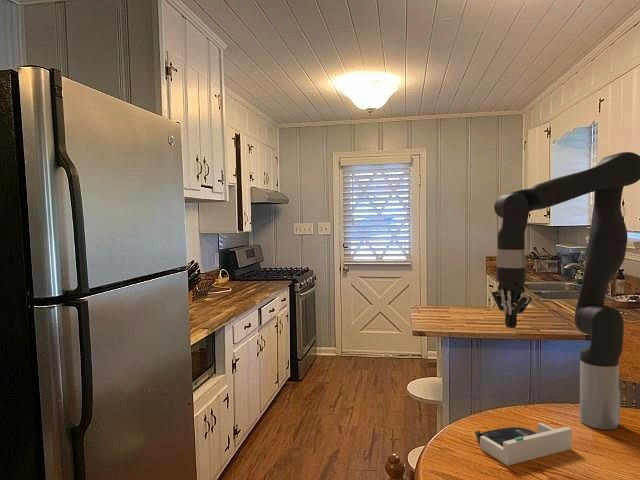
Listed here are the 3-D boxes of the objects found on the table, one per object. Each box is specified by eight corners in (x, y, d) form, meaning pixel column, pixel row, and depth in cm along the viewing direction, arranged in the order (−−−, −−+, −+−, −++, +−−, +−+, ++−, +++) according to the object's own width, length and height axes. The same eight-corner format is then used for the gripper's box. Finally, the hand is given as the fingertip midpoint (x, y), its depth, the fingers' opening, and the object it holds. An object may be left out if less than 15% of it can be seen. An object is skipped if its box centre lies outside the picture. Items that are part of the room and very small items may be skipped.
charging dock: (541, 433, 126) (541, 413, 126) (571, 448, 118) (571, 427, 117) (479, 448, 118) (479, 426, 118) (507, 465, 110) (507, 442, 110)
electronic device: (499, 463, 114) (550, 446, 118) (495, 440, 114) (545, 424, 119) (477, 451, 123) (525, 435, 127) (473, 429, 123) (521, 414, 127)
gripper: (540, 266, 127) (540, 331, 128) (503, 263, 139) (503, 321, 140) (518, 268, 124) (518, 333, 125) (483, 264, 136) (483, 324, 137)
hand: (510, 327), depth 132 cm, fingers closed
